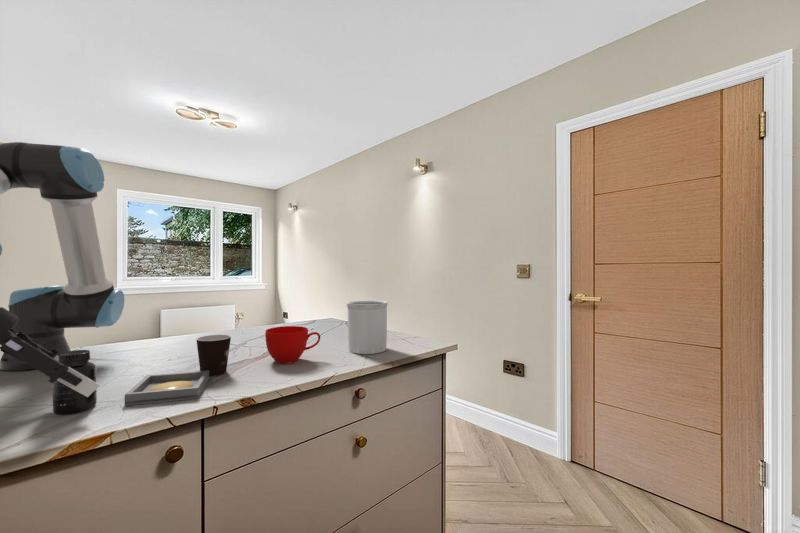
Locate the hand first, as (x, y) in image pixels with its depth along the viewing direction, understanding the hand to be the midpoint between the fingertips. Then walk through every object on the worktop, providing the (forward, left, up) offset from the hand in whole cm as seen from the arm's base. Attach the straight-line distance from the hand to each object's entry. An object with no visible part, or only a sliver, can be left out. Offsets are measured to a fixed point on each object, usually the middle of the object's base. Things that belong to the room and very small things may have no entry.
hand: (86, 383), depth 75 cm
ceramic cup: (-25, +43, -5) cm, 50 cm away
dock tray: (-5, +14, -5) cm, 16 cm away
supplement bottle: (+1, -2, -5) cm, 5 cm away
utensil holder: (-32, +69, -5) cm, 77 cm away
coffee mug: (-19, +22, -5) cm, 30 cm away
